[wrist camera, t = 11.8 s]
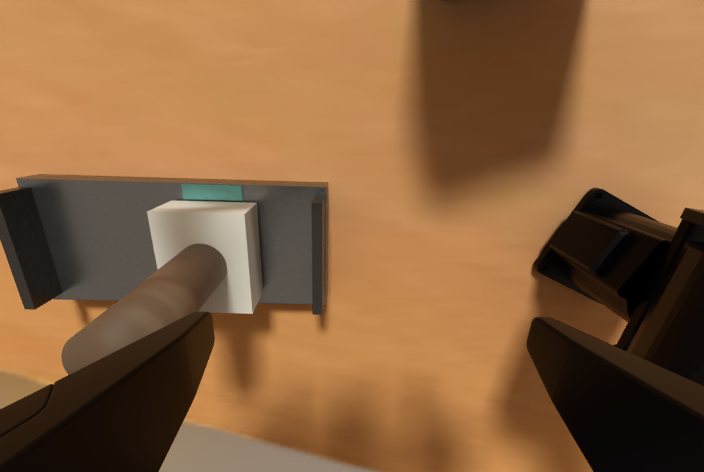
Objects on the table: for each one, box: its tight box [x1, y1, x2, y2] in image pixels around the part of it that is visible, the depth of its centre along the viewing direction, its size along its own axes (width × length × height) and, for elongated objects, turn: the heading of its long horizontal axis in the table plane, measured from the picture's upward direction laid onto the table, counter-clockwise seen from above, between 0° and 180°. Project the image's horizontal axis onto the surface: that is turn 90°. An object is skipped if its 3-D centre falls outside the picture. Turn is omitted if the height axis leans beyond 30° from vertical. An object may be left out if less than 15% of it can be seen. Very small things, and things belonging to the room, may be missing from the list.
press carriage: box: [62, 201, 263, 375], centre depth 15 cm, size 5×6×10 cm
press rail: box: [0, 174, 328, 315], centre depth 20 cm, size 18×8×4 cm, turn 88°
